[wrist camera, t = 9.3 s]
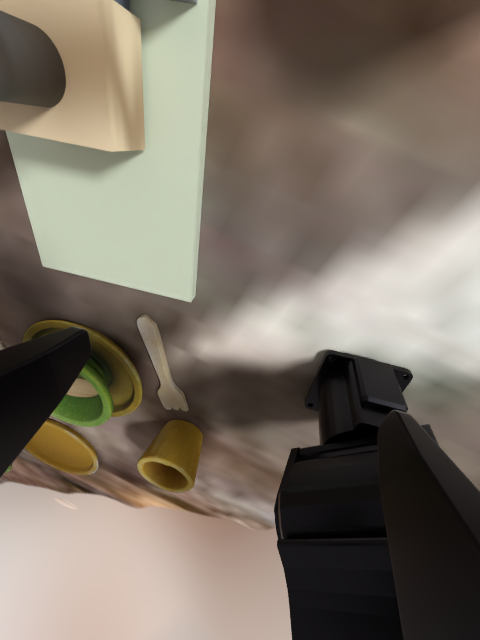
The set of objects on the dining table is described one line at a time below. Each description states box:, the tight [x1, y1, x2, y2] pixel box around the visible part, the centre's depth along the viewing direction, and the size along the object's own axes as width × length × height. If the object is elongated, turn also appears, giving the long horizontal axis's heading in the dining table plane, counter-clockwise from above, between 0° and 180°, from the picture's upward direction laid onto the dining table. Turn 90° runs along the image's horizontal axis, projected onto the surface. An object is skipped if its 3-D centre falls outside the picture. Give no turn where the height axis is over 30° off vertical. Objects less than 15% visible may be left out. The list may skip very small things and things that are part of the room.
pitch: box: [5, 0, 216, 302], centre depth 13 cm, size 22×12×6 cm, turn 171°
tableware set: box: [0, 314, 203, 493], centre depth 32 cm, size 41×28×6 cm
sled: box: [0, 0, 145, 152], centre depth 10 cm, size 6×6×8 cm
